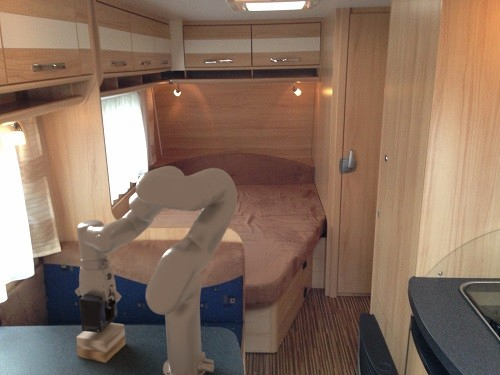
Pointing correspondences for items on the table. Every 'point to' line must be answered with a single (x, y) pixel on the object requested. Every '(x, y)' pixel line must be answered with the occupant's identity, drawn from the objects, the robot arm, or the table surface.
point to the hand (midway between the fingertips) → (100, 316)
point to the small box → (94, 313)
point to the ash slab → (101, 338)
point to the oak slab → (101, 355)
